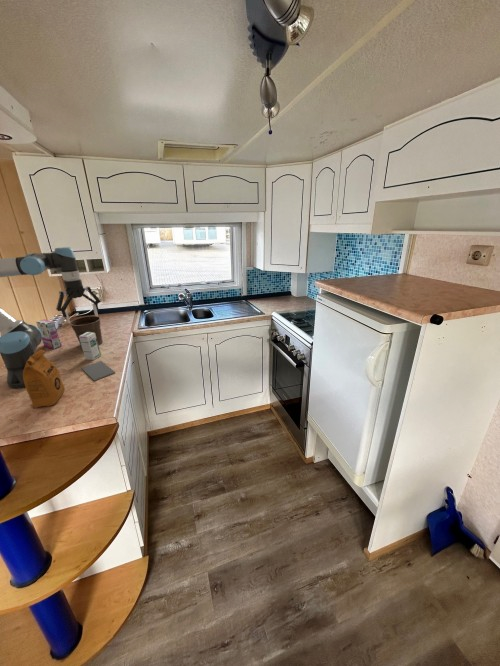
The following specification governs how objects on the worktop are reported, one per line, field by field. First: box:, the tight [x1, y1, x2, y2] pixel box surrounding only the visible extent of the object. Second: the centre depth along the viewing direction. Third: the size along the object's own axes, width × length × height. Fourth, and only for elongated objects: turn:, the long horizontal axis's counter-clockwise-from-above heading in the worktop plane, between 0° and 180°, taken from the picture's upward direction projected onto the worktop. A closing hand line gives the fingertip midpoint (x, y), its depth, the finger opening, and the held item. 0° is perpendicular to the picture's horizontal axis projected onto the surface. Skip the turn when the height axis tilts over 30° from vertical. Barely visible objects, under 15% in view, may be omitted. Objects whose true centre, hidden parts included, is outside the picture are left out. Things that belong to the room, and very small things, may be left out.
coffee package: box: [23, 349, 66, 409], centre depth 112 cm, size 10×12×22 cm
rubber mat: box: [81, 360, 116, 382], centre depth 138 cm, size 10×18×1 cm, turn 48°
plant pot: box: [69, 315, 104, 348], centre depth 165 cm, size 16×16×16 cm
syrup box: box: [79, 332, 102, 361], centre depth 149 cm, size 6×6×14 cm
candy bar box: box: [35, 319, 62, 350], centre depth 164 cm, size 11×5×16 cm, turn 62°
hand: (83, 319), depth 143 cm, fingers open, 13 cm apart
